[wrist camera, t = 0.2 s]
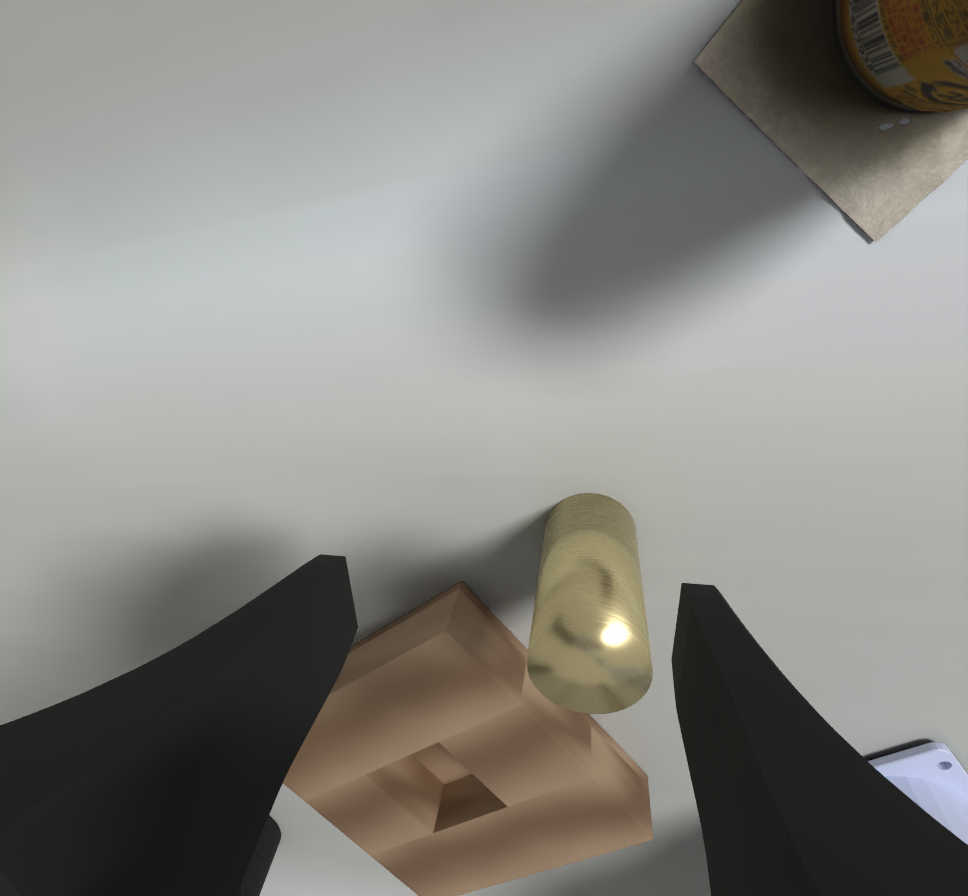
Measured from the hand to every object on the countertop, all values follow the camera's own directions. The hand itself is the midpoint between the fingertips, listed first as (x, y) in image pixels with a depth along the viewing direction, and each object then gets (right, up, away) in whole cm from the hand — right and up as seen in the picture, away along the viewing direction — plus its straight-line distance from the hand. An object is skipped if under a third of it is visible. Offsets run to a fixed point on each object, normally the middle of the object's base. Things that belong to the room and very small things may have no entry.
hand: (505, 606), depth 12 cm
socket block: (-2, -11, +17) cm, 20 cm away
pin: (+4, 0, +10) cm, 11 cm away
